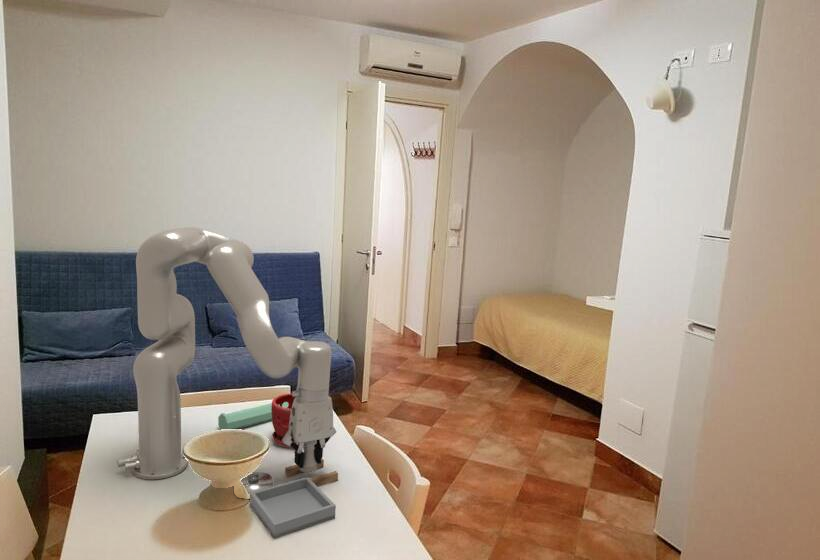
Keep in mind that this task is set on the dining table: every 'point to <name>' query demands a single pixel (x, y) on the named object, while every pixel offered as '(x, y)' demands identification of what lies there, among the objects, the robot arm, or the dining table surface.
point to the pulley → (257, 481)
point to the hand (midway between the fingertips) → (308, 462)
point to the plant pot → (281, 417)
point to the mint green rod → (247, 417)
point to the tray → (292, 506)
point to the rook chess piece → (309, 457)
